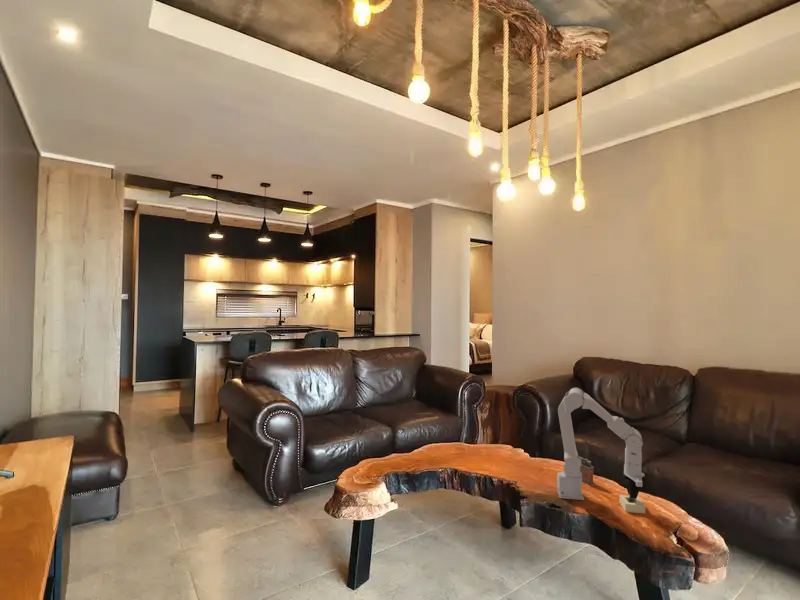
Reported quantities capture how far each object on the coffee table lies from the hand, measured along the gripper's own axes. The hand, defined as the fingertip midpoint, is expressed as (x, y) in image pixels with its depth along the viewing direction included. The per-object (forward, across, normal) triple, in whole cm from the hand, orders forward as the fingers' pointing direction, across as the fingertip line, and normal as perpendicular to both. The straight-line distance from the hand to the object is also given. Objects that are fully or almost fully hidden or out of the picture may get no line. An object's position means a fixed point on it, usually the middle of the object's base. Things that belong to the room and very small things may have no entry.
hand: (632, 496), depth 165 cm
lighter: (+5, +20, +13) cm, 24 cm away
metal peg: (+3, 0, 0) cm, 3 cm away
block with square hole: (+5, 0, 0) cm, 5 cm away
